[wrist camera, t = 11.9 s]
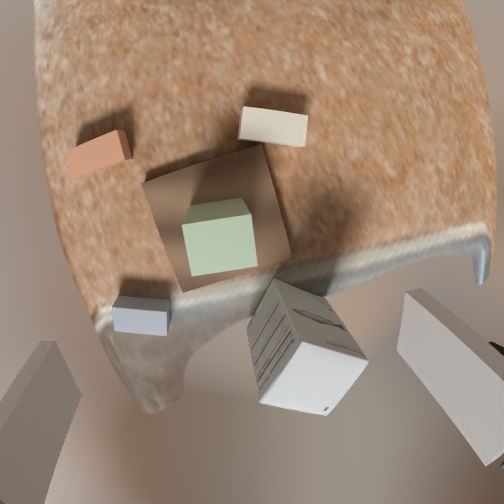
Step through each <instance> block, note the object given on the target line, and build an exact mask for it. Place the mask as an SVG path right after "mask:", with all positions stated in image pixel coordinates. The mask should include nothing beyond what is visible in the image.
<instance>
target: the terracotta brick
mask: <svg viewBox="0 0 504 504" xmlns="http://www.w3.org/2000/svg"><path fill="white" fill-rule="evenodd" d="M63 154H64V158H65V162H66V165H67V169H68V173H69V176H70V180H71V181H75V180H79V179H82V178H85V177H87V176H89V175H92V174H94V173H97V172H99V171H102V170H104V169H107V168H109V167H112V166H115V165H117V164H120V163H123V162H125V161H128V160H131V159H133V158H132V155H131V151H130V147H129V144H128V140H127V136H126V132H125V131H122V130H114V131H112V132H109V133H107V134H105V135H102V136H100V137H97V138H95V139H93V140H90V141H88V142H86V143H83V144H81V145H79V146H77V147H75V148H72V149H70V150H68V151H66V152H64V153H63Z"/></svg>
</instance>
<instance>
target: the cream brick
mask: <svg viewBox="0 0 504 504" xmlns="http://www.w3.org/2000/svg"><path fill="white" fill-rule="evenodd" d="M307 123H308V116H307V115H301V114H296V113H289V112H283V111H276V110H269V109H262V108H254V107H245V106H243V108H242V109H241V113H240V121H239V130H238V139H237V140H246V141H255V142H264V143H272V144H279V145H287V146H294V147H305V141H306V132H307Z"/></svg>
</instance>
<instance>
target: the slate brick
mask: <svg viewBox="0 0 504 504" xmlns="http://www.w3.org/2000/svg"><path fill="white" fill-rule="evenodd" d="M112 313H113V322H114V330H115V331H120V332H129V333H139V334H149V335H160V336H167V335H168V330H169V325H170V300H167V299H154V298H142V297H131V296H120V295H119V296H118V297H117V299H116V301H115V303H114V304H113V306H112Z"/></svg>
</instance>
